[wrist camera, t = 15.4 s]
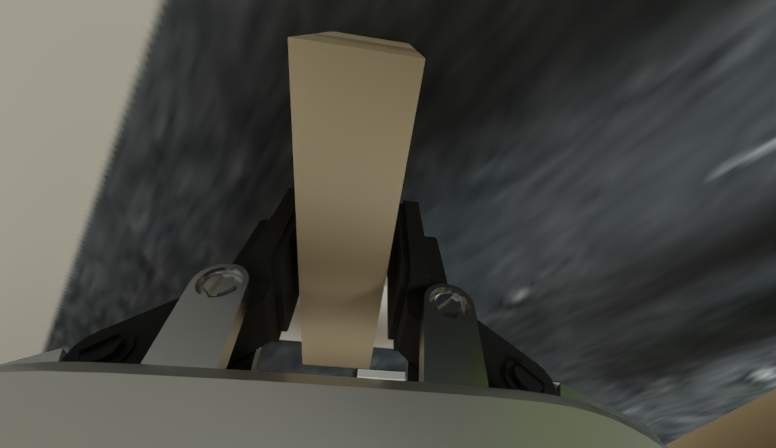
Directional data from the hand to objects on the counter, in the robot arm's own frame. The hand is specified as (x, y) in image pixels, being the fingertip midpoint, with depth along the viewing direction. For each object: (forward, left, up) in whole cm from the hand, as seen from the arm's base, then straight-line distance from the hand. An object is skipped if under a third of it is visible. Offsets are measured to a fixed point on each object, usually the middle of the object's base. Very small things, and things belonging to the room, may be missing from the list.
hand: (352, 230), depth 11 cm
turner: (+1, 0, -2) cm, 2 cm away
